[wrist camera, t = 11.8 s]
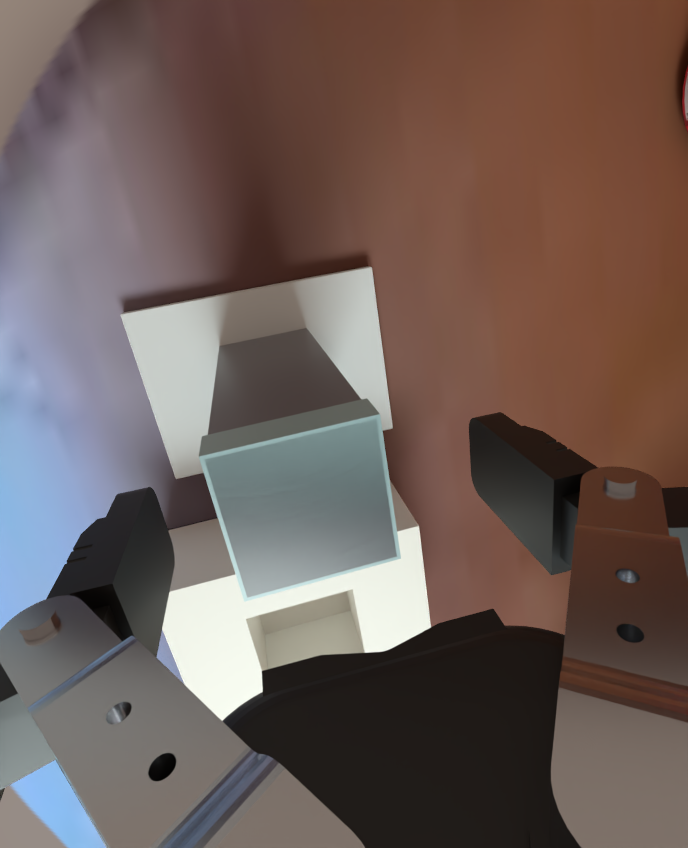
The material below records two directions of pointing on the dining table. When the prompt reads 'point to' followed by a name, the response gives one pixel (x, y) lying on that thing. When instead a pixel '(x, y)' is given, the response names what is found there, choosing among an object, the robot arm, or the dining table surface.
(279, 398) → the plug
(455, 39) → the dining table surface
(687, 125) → the soda can
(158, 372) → the mat
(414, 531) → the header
